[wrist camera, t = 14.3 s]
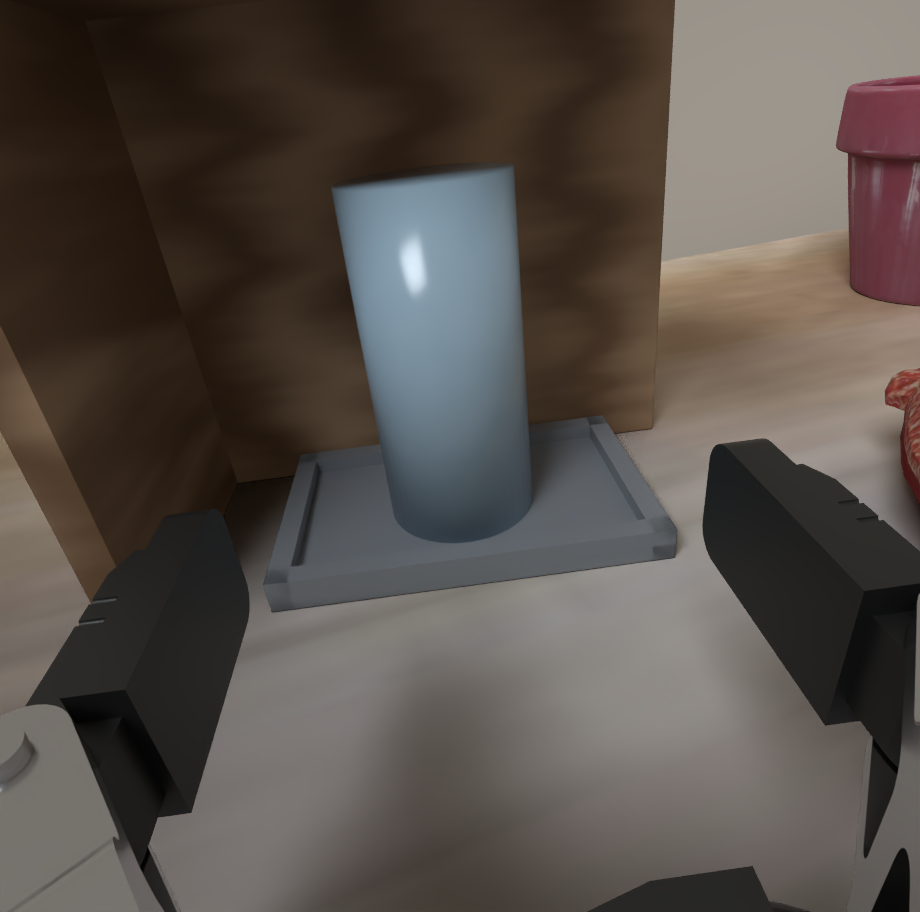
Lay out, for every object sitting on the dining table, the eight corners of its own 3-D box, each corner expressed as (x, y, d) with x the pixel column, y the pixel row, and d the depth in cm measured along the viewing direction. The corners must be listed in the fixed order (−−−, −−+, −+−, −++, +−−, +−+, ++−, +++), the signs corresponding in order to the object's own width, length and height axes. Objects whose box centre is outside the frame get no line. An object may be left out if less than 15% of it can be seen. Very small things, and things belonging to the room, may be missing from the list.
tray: (272, 611, 21) (262, 585, 21) (306, 476, 29) (300, 454, 29) (674, 557, 22) (676, 529, 21) (602, 438, 29) (602, 415, 29)
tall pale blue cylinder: (391, 552, 23) (320, 198, 17) (393, 473, 27) (339, 177, 22) (545, 532, 23) (528, 172, 17) (520, 456, 28) (500, 157, 22)
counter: (122, 664, 20) (-322, -184, 10) (218, 473, 30) (43, -36, 21) (767, 575, 20) (928, -318, 11) (643, 417, 31) (667, -107, 21)
